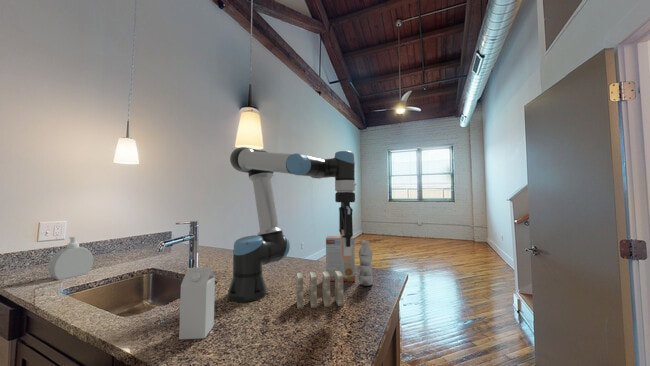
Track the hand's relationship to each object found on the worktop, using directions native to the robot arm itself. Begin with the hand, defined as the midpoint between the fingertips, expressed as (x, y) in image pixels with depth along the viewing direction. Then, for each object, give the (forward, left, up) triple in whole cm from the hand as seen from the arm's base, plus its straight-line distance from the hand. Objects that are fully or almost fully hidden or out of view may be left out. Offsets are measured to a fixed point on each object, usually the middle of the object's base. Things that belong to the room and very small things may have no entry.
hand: (345, 253), depth 94 cm
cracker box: (+4, +29, -19) cm, 35 cm away
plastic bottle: (+14, +20, -19) cm, 31 cm away
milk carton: (-48, -12, -19) cm, 53 cm away
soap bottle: (-132, +55, -19) cm, 144 cm away
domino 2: (-12, +3, -19) cm, 23 cm away
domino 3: (-7, +3, -19) cm, 21 cm away
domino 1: (-17, +3, -19) cm, 26 cm away
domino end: (0, 0, -2) cm, 2 cm away
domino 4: (-2, +3, -19) cm, 19 cm away
